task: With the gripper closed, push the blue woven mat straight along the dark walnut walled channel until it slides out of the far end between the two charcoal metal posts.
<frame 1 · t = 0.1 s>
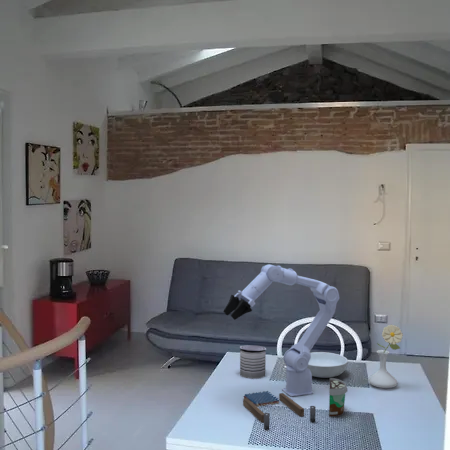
hand: (228, 315, 193), 32 cm above the table, tool tilted 50°, fingers open, 7 cm apart
food container: (338, 412, 185), on the table
walled channel: (272, 410, 186), on the table
woven mat: (260, 402, 196), on the table
serving bowl: (322, 375, 225), on the table
finish posts: (290, 425, 174), on the table
flower in vase: (384, 386, 212), on the table
can: (252, 375, 225), on the table
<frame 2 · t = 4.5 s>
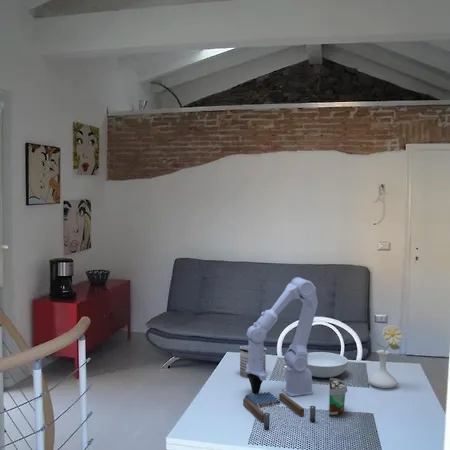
hand: (255, 393, 200), 1 cm above the table, tool pointing down, fingers closed
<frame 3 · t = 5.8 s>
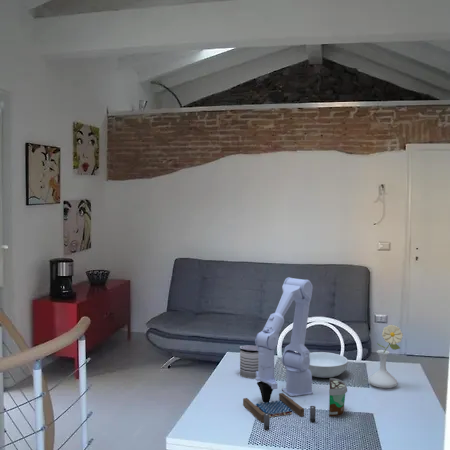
hand: (266, 402, 191), 1 cm above the table, tool pointing down, fingers closed
woven mat: (273, 412, 186), on the table
everything else where it was.
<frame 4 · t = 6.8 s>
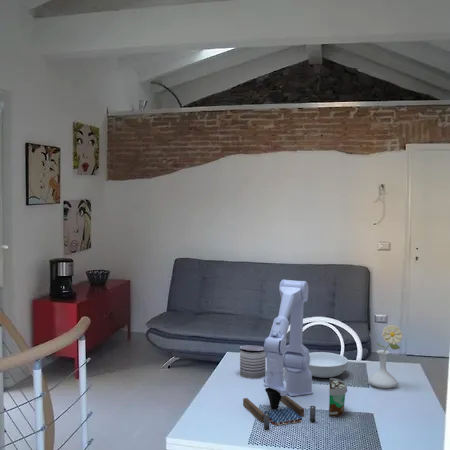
hand: (274, 409, 185), 1 cm above the table, tool pointing down, fingers closed
woven mat: (282, 420, 180), on the table, touching gripper
everything else where it was.
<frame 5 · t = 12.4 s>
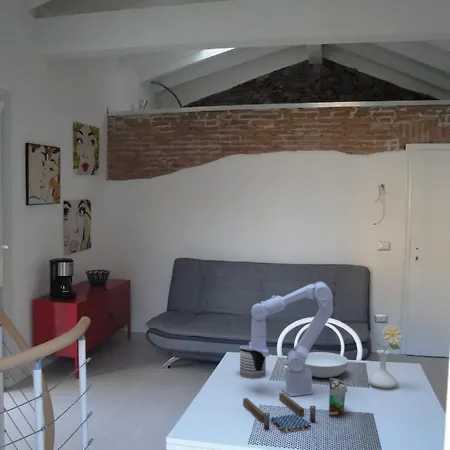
hand: (258, 369, 205), 8 cm above the table, tool pointing down, fingers closed
woven mat: (290, 427, 174), on the table
everything else where it was.
at the end: woven mat inside the target area (0.9 cm from its centre), on the table; woven mat tilted 0° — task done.
